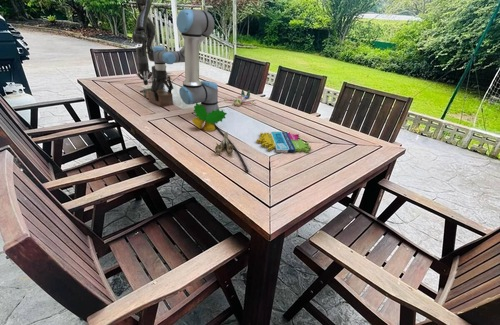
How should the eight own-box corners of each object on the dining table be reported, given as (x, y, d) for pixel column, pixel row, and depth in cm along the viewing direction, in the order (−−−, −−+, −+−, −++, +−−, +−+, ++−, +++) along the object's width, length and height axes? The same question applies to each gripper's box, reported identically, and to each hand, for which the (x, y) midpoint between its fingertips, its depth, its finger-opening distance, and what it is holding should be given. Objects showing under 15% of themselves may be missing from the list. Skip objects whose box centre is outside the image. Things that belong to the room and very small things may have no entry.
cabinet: (149, 101, 204) (148, 90, 200) (161, 99, 211) (160, 88, 207) (161, 106, 196) (160, 95, 191) (173, 104, 203) (172, 93, 199)
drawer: (139, 95, 212) (138, 87, 208) (150, 93, 218) (149, 86, 215) (154, 101, 201) (153, 93, 198) (164, 99, 207) (163, 91, 204)
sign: (313, 150, 142) (258, 149, 139) (312, 153, 143) (258, 152, 140) (301, 132, 164) (254, 130, 161) (301, 134, 165) (254, 133, 162)
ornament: (218, 133, 171) (224, 110, 169) (221, 134, 163) (227, 111, 161) (186, 125, 162) (192, 101, 160) (189, 126, 155) (195, 101, 153)
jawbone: (234, 135, 144) (233, 125, 135) (233, 160, 138) (232, 151, 129) (217, 135, 144) (216, 125, 135) (216, 160, 138) (214, 150, 129)
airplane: (141, 75, 282) (140, 66, 277) (171, 74, 295) (170, 65, 290) (147, 84, 254) (145, 74, 249) (179, 82, 267) (178, 72, 262)
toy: (261, 91, 228) (254, 99, 202) (261, 99, 231) (253, 108, 205) (231, 87, 233) (220, 95, 207) (230, 95, 236) (219, 104, 210)
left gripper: (148, 60, 207) (150, 82, 215) (132, 61, 198) (135, 85, 206) (153, 62, 203) (156, 84, 211) (137, 63, 194) (140, 86, 202)
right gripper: (170, 67, 199) (173, 96, 210) (143, 70, 183) (147, 101, 194) (176, 69, 195) (178, 98, 206) (148, 72, 179) (152, 103, 190)
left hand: (146, 84), depth 209 cm, fingers closed
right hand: (163, 99), depth 200 cm, fingers closed on cabinet, 10 cm apart
